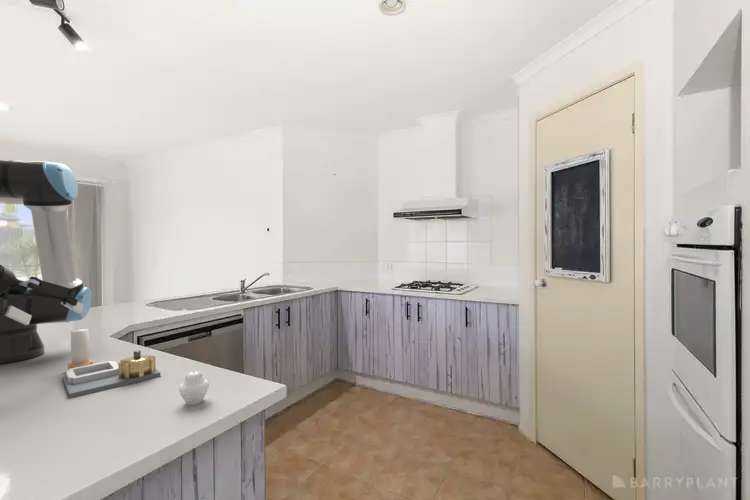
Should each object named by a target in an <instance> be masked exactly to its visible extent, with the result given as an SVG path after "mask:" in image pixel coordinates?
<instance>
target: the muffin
mask: <svg viewBox="0 0 750 500" xmlns="http://www.w3.org/2000/svg"><path fill="white" fill-rule="evenodd" d="M209 387H210V382H209V381H208V380H207V379H205V377H204V376H203V373H202V372H201V371H191V372H189V373H187V374H186V375H185V377H184V380H183V381H182V383H181V384H180V385H179V387H178V391H179V393H180V396H181V398H182V399H183V400H184V402H185V403H186V405H188V406H194V405H198V404H201V403H202V402H203V400H204V399H205V396H206V394H207V393H208V389H209Z"/></svg>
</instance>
